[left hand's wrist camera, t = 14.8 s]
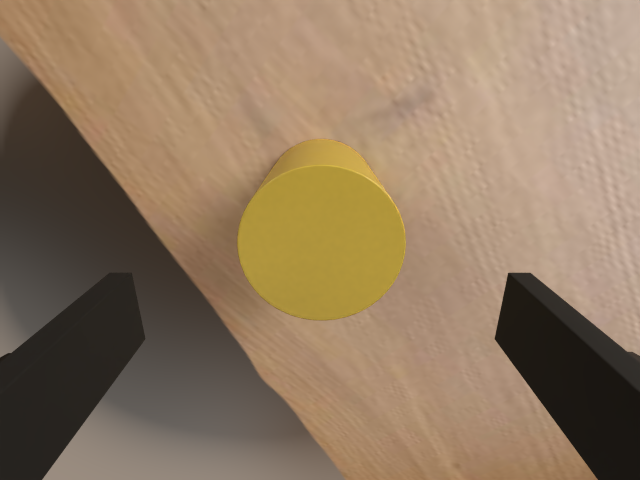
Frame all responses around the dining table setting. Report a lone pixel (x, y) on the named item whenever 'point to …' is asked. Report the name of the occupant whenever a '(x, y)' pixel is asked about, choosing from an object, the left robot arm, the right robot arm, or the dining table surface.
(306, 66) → the dining table surface
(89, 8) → the dining table surface
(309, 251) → the cylinder
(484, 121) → the dining table surface
